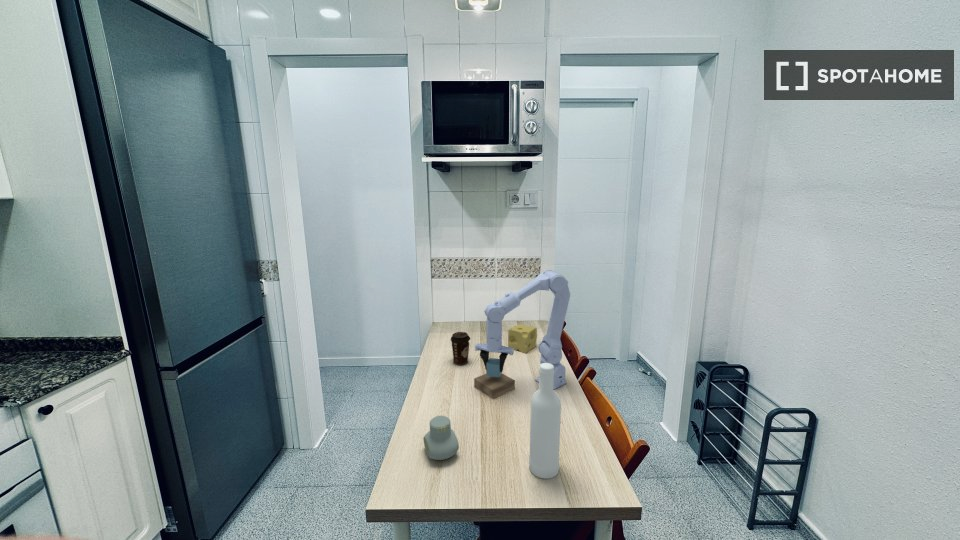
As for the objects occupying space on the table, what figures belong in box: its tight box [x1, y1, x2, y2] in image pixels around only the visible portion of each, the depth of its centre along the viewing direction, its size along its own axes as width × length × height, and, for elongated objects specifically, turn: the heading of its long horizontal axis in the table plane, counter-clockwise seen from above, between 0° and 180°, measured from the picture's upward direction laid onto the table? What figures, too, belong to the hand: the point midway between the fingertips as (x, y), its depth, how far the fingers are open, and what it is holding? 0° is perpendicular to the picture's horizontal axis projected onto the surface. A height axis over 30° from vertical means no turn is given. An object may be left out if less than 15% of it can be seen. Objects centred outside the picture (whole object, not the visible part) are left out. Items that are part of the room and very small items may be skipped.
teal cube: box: [485, 357, 503, 377], centre depth 138 cm, size 5×5×5 cm
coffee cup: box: [450, 331, 471, 366], centre depth 159 cm, size 9×8×13 cm
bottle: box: [528, 363, 562, 480], centre depth 95 cm, size 8×8×30 cm
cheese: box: [507, 323, 538, 354], centre depth 175 cm, size 10×11×10 cm
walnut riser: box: [473, 372, 516, 400], centre depth 138 cm, size 11×11×4 cm
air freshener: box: [423, 415, 460, 461], centre depth 103 cm, size 11×8×10 cm
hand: (494, 369), depth 137 cm, fingers closed on teal cube, 5 cm apart
